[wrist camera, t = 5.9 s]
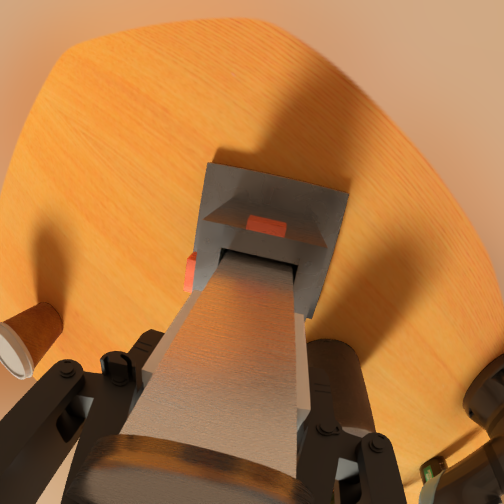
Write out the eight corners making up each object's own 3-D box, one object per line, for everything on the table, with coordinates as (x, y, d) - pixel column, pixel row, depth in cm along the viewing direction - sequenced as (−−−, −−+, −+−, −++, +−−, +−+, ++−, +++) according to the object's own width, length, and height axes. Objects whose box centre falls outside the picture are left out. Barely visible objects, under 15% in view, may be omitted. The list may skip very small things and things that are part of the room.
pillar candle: (321, 325, 33) (335, 424, 18) (372, 361, 34) (399, 452, 19) (270, 371, 36) (257, 466, 22) (321, 401, 37) (326, 488, 22)
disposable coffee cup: (50, 286, 36) (-1, 322, 25) (79, 338, 38) (36, 382, 27) (25, 299, 38) (-19, 331, 27) (51, 345, 40) (13, 382, 29)
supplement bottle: (418, 464, 42) (428, 503, 31) (444, 452, 40) (457, 489, 29) (419, 473, 44) (428, 509, 32) (444, 461, 42) (455, 496, 31)
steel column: (304, 227, 25) (364, 542, 3) (287, 291, 27) (273, 571, 5) (233, 211, 26) (26, 455, 3) (222, 276, 28) (96, 527, 5)
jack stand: (345, 192, 28) (384, 213, 16) (310, 312, 32) (319, 384, 21) (211, 162, 28) (164, 164, 17) (192, 285, 33) (150, 344, 21)
